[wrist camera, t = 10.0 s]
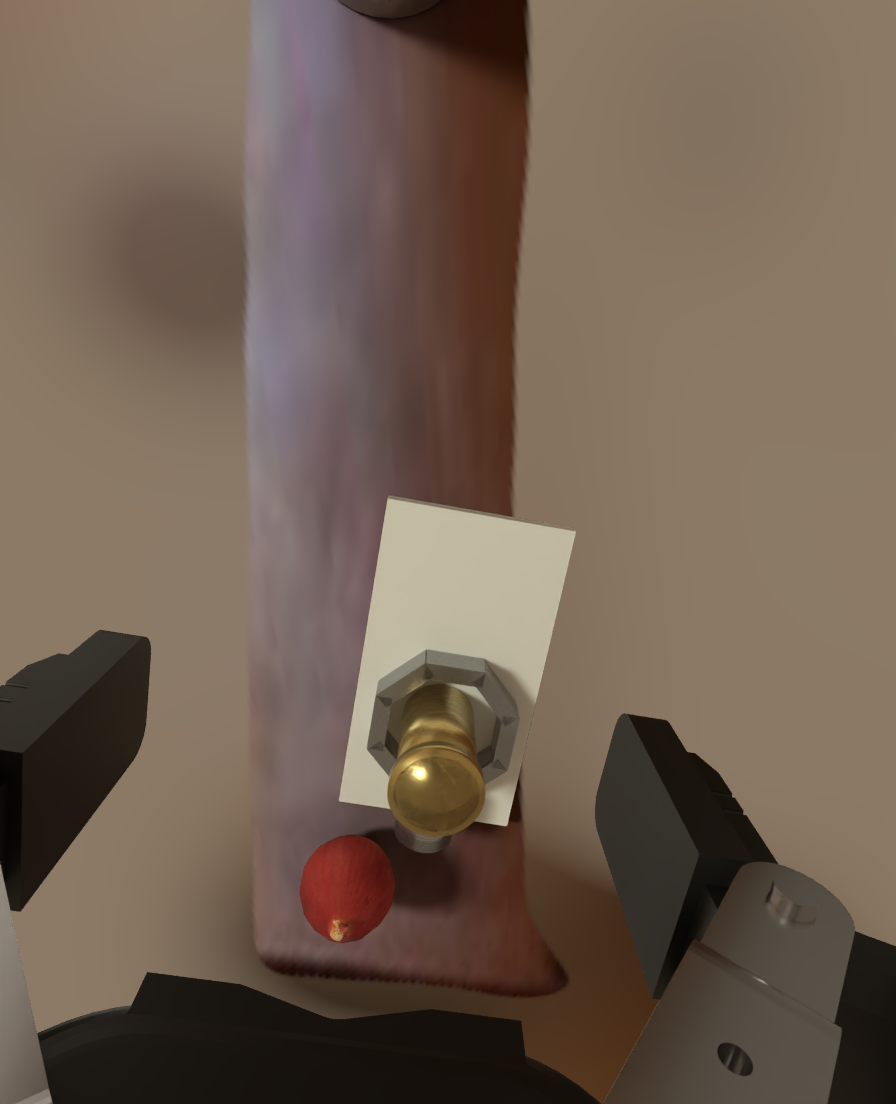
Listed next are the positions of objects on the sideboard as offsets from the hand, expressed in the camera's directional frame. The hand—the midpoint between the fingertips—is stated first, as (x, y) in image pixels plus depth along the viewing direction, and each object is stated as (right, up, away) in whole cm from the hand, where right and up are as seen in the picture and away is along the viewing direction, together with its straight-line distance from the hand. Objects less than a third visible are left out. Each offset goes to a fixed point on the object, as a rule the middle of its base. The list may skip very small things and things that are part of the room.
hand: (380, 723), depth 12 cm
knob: (+1, -7, +32) cm, 32 cm away
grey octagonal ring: (+1, -9, +32) cm, 33 cm away
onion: (-5, -17, +35) cm, 40 cm away
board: (+1, -4, +32) cm, 32 cm away
